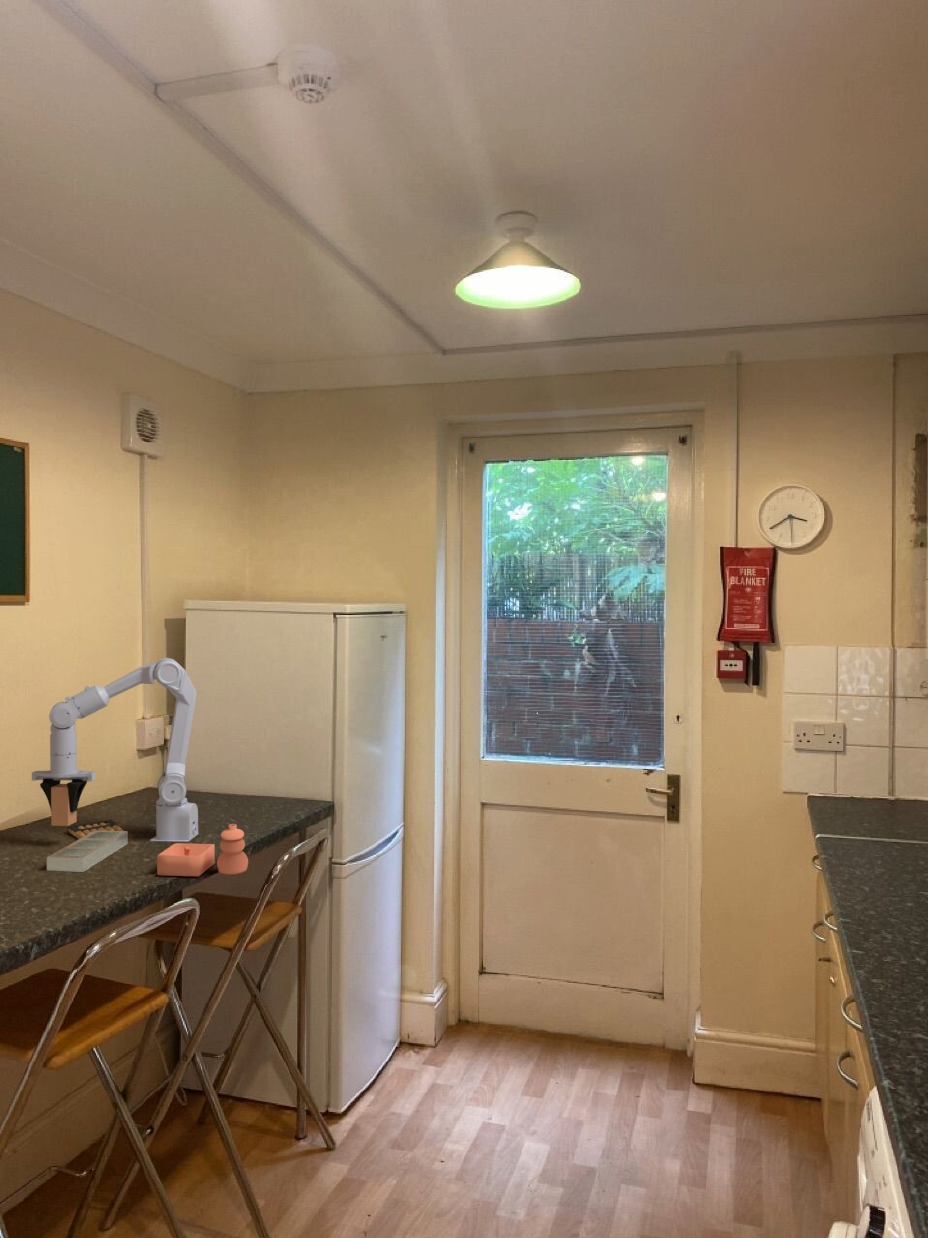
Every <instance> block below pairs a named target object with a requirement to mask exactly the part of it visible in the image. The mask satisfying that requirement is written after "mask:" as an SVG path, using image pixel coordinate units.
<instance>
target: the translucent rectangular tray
mask: <svg viewBox="0 0 928 1238" xmlns="http://www.w3.org/2000/svg"><path fill="white" fill-rule="evenodd" d="M128 833H129V832H128V831H127V830H123V831H93V832H91V833H89V834H88V835H86V836H84V837H82V838H80V839H77V840H75V841H73V842H72V843H70V844H68V845H66V846H64V847H62V848H60V849H59V850H57V851H56V852H53V853H52V854H50V855H48V856H46V871H47V872H49V871H51V872H68V873H69V872H72V873H73V872H74V873H75V872H76V873H83V872H86V871H87V870H89V869H90V868H92V867H93V866H95V865H96V864H98V863H100V862H101V861H103V860H105V859H106V858H107V857H109V856H110V855H113V854H114V853H116V852H117V851H119V850H120V849H122V848H123V847H125V846H126V845H128V843H129V842H128V841H129V839H128Z"/></svg>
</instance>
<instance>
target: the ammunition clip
mask: <svg viewBox="0 0 928 1238" xmlns="http://www.w3.org/2000/svg"><path fill="white" fill-rule="evenodd" d="M93 831H124V830H123V828H121V827H120V826H119V824H118V823H117V822H115V821H114V820H113V819H105V820H99V821H93V822H87V823H80V824H74V825H73V824H72V825H69V826H67V834H68V835H70V836H71V837H73V838H75V839H77V840H79V839H80V838H82V837H84V836H86V835H88V834H89V833H91V832H93Z"/></svg>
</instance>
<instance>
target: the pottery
mask: <svg viewBox="0 0 928 1238" xmlns="http://www.w3.org/2000/svg"><path fill="white" fill-rule="evenodd" d="M237 827H238V825H237V824H236V823H231V824H228V828H227V829H225V830H223V831H222V832H221V835H220V837H221V839H222V840H221V842H220V844H219V846H220V847H219V848H220V849H221V851H222V853H220V854H219V856H218V858H217V862H215V860H216V858H215V857H216V856H215V855H216V854H215V851H216V848H215V847H216V846H215V845H216V844H214V843H186V842H185V843H183V842H178V843H177V842H176V843H175V842H174V843H173V844H171V845H170V846H169V847H167V848H165V849H164V850H163V851H162V852H160V853H158V854H157V855H156V860H157V861H156V865H157V866H156V871H157V872H156V875H157V876H171V877H172V876H177V877H178V876H179V877H180V876H181V877H200V876H201V875H202V874H204V873H205V872H206V871H207V870H209V869H210V868H211V867H212V866H214V864H215V863H216V866H217V870H218V871H217V872H218V873H220V874H223V875H237V874H242V873H244V872H246V871H247V870H248V865H249V858H248V856H247V854H246V853H245V852H244V851H243V850H244V848H245V846H246V842H245V840H244V838H243V837H245V833H244V831H243V829H241V828H237Z"/></svg>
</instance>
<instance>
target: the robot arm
mask: <svg viewBox="0 0 928 1238" xmlns="http://www.w3.org/2000/svg"><path fill="white" fill-rule="evenodd" d="M155 681H156V682H157V683H158V684H159V685H161V686H162V687H164V688H166V689H168V690H169V692H170V693H171V694H172V695H173V696H174V697H175V704H174V710H173V711H174V712H173V717H172V723H171V724H172V725H171V729H170V735H169V743H168V747H167V754H166V760H165V764H164V767H163V768H164V769H163V772H162V775H161V776H160V777H159V779H158V781H157V784H156V786H157V790H158V796H159V798H158V799H157V800H156V802H155V803H156V805H155V807H156V808H155V809H156V810H155V811H156V812H155V815H156V817H155V819H156V821H155V823H156V824H155V826H156V827H155V828H156V829H155V830H156V831H155V833H156V835H155V836H154V837H152V838H151V839H149V841H150V842H176V843H177V842H178V843H183V842H185V843H186V842H190V841H191V840H192V839H194V838H195V837H196V836H198V835H199V834H200V832H199V809H198V804H196V803H195V802H194V803H193V802H188V798H187V797H186V795H187V786H186V783H185V776H186V763H187V757H188V751H189V744H190V739H191V732H192V728H193V727H192V726H193V721H194V720H193V719H194V714H195V707H196V703H197V696H198V695H197V690H196V689H195V687H194V685H193V682H192V681H191V679H190V677H189V674H188V673H187V671H186V669H184V667H183V666H181V664H179V662H177V661H176V660H175V659H173V658H170V657H163V658H161V659H158V660H157V661H156V662H155V661H153V662H151V663H147V664H145V665H143V666H140V667H138V668H135V669H134V670H133V671H130V672H129V673H127V674H125V675H123V676H121V677H119V678H117V679H116V680H114V681H112V682H109V684H106V685H105V686H101V685H97V684H94V685H92V686H91V685H87V686H85V687H84V690H83V691H80V692H79V693H77V694H74V695H72V696H70V695H68V696H67V697H64V700H65V701H60V702H57V703H56V704H54V705H53V706H52V708H51V709H50V712H49V715H48V718H49V721H50V723H51V725H50V728H49V729H50V734H49V759H50V760H49V761H50V762H49V763H50V764H49V765H50V766H49V767H50V770H35V771H32V772H31V781H41V783H39V786H40V788H41V789H42V791H43V794H44V795H45V796H46V800H47V801H48V805H49V808H50V810H51V787H53V786H55V785H58V784H61V781H70V782H67V783H66V784H67V787H68V791H69V798H70V812H74V811H76V810H77V811H78V806H79V802H80V799H81V796H82V793H83V791H84V788H85V787H86V786H87V783H88V782H94V781H96V780H97V777H96V776H97V775H96V774H97V773H96V771H87V770H80V769H79V770H78V746H77V744H78V743H77V741H78V736H77V734H78V733H77V732H76V721H77V720H79V719H80V720H82V719H84V718H87V717H89V716H90V715H92V714H94V713H96V712H98V711H100V710H102V709H104V708H106V707H108V704H109V701H110V699H111V698H114V697H116V696H118V695H120V694H122V693H125V692H126V691H128V690H131V689H132V688H135V687H137V686H140V685H141V684H142V685H143V684H144V685H145V684H147V685H155Z"/></svg>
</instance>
